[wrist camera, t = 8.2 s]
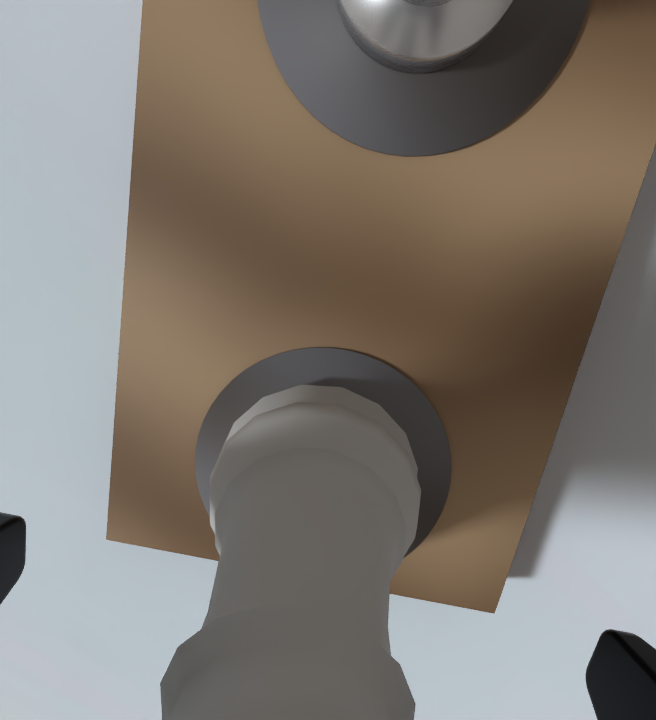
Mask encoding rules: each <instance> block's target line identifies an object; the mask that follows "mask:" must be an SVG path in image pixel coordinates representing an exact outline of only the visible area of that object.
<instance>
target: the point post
mask: <svg viewBox="0 0 656 720" xmlns="http://www.w3.org/2000/svg"><path fill="white" fill-rule="evenodd" d="M512 1H513V0H336V4H337V9H338V12H339V14H340V17H341V20H342V22H343V24H344V26H345V28H346V30H347V32H348V34H349V35H350V37H351V38H352V40H353V41H354V42H355V44H356V45H357V46H358V47H359V48H360V49H361V50H362V51H363V52H364V53H365V54H366V55H367V56H368V57H370V58H371V59H372V60H374V61H375V62H377V63H378V64H380V65H382V66H384V67H386V68H388V69H391V70H394V71H397V72H401V73H407V74H428V73H433V72H438V71H441V70H444V69H447V68H449V67H451V66H453V65H455V64H458V63H459V62H461V61H462V60H464V59H465V58H467V57H468V56H470V55H471V54H472V53H473V52H474V51H476V50H477V49H478V48H479V47H480V46H481V45H482V44H483V43H484V42H485V40H486V39H487V38H488V37H489V35H490V34H491V33H492V31H493V30H494V29H495V27H496V26H497V24H498V23H499V21H500V20H501V18H502V17H503V15H504V14H505V12H506V10H507V9H508V7H509V6H510V4H511V3H512Z"/></svg>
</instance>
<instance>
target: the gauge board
mask: <svg viewBox="0 0 656 720" xmlns="http://www.w3.org/2000/svg"><path fill="white" fill-rule="evenodd" d="M655 144H656V0H513V1H512V3H511V4H510V6H509V7H508V9H507V10H506V12H505V14H504V15H503V17H502V18H501V20H500V21H499V23H498V24H497V26H496V27H495V29H494V30H493V31H492V33H491V34H490V35H489V37H488V38H487V39H486V40H485V42H484V43H483V44H482V45H481V46H480V47H479V48H478V49H477V50H476V51H474V52H473V53H472V54H471V55H470V56H468V57H467V58H465V59H464V60H462V61H461V62H459V63H458V64H455V65H453V66H451V67H449V68H447V69H444V70H441V71H438V72H433V73H428V74H407V73H401V72H397V71H394V70H391V69H388V68H386V67H384V66H382V65H380V64H378V63H377V62H375V61H374V60H372V59H371V58H370V57H368V56H367V55H366V54H365V53H364V52H363V51H362V50H361V49H360V48H359V47H358V46H357V45H356V44H355V42H354V41H353V40H352V38H351V37H350V35H349V34H348V32H347V30H346V28H345V26H344V24H343V22H342V20H341V17H340V14H339V12H338V9H337V4H336V0H143V6H142V20H141V35H140V50H139V65H138V79H137V94H136V109H135V124H134V138H133V153H132V168H131V182H130V197H129V212H128V227H127V241H126V256H125V271H124V286H123V300H122V315H121V330H120V345H119V359H118V374H117V389H116V404H115V418H114V433H113V448H112V463H111V477H110V492H109V507H108V522H107V536H106V540H111V541H117V542H122V543H127V544H132V545H138V546H143V547H148V548H153V549H159V550H164V551H169V552H174V553H180V554H185V555H190V556H195V557H201V558H206V559H211V560H216V561H219V558H220V555H219V553H218V551H217V549H216V547H215V534H214V531H213V529H212V527H211V525H210V494H209V486H210V475H211V473H212V471H213V469H214V466H215V464H216V462H217V460H218V458H219V455H220V453H221V450H222V448H223V446H224V444H225V441H226V439H227V437H228V435H229V433H230V430H231V428H232V426H233V424H234V422H235V421H236V420H237V419H239V418H240V417H241V416H242V415H243V414H244V413H245V412H247V411H248V410H249V409H250V408H251V407H252V406H253V405H255V404H256V403H257V402H258V401H259V400H260V399H261V398H262V397H265V396H268V395H271V394H274V393H277V392H280V391H283V390H286V389H289V388H292V387H295V386H298V385H314V386H330V387H343V388H345V389H347V390H349V391H351V392H354V393H356V394H358V395H360V396H362V397H364V398H366V399H369V400H371V401H373V402H375V403H377V404H379V405H380V406H381V407H382V408H383V409H384V410H385V411H386V412H387V413H388V414H389V416H390V417H391V418H392V419H393V420H394V421H395V422H396V423H397V424H398V425H399V426H400V428H401V429H402V430H403V431H404V432H405V433H406V435H407V438H408V441H409V444H410V447H411V450H412V453H413V456H414V459H415V462H416V465H417V468H418V472H417V479H418V482H419V485H420V488H421V497H420V506H419V515H418V524H417V530H416V535H415V539H414V541H413V542H412V544H411V546H410V547H409V549H408V551H407V552H406V554H405V555H404V558H403V561H402V563H401V564H400V566H399V568H398V569H397V571H396V573H395V574H394V576H393V578H392V579H391V581H390V592H389V593H390V594H395V595H400V596H405V597H411V598H416V599H421V600H426V601H432V602H437V603H442V604H447V605H453V606H458V607H463V608H468V609H474V610H479V611H484V612H489V613H495V610H496V608H497V605H498V602H499V599H500V596H501V593H502V590H503V587H504V584H505V581H506V578H507V575H508V573H509V570H510V567H511V564H512V561H513V558H514V555H515V552H516V549H517V546H518V543H519V541H520V538H521V535H522V532H523V529H524V526H525V523H526V520H527V517H528V514H529V511H530V508H531V506H532V503H533V500H534V497H535V494H536V491H537V488H538V485H539V482H540V479H541V476H542V474H543V471H544V468H545V465H546V462H547V459H548V456H549V453H550V450H551V447H552V444H553V441H554V439H555V436H556V433H557V430H558V427H559V424H560V421H561V418H562V415H563V412H564V409H565V406H566V404H567V401H568V398H569V395H570V392H571V389H572V386H573V383H574V380H575V377H576V374H577V372H578V369H579V366H580V363H581V360H582V357H583V354H584V351H585V348H586V345H587V342H588V339H589V337H590V334H591V331H592V328H593V325H594V322H595V319H596V316H597V313H598V310H599V307H600V305H601V302H602V299H603V296H604V293H605V290H606V287H607V284H608V281H609V278H610V275H611V272H612V270H613V267H614V264H615V261H616V258H617V255H618V252H619V249H620V246H621V243H622V240H623V237H624V235H625V232H626V229H627V226H628V223H629V220H630V217H631V214H632V211H633V208H634V205H635V203H636V200H637V197H638V194H639V191H640V188H641V185H642V182H643V179H644V176H645V173H646V170H647V168H648V165H649V162H650V159H651V156H652V153H653V150H654V147H655Z"/></svg>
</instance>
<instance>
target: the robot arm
mask: <svg viewBox="0 0 656 720" xmlns="http://www.w3.org/2000/svg"><path fill="white" fill-rule="evenodd" d="M25 553H26V523H25V521H24V519H23V518H22V517H20V516H17V515H11V514H6V513H1V512H0V604H1V603H2V602H3V600H4V599H5V597H6V596H7V595H8V593H9V592H10V591H11V589H12V588H13V586H14V585H15V584H16V582H17V581H18V579H19V577H20V576H21V574H22V571H23V569H24V565H25ZM586 684H587V689H588V692H589V695H590V698H591V701H592V704H593V707H594V710H595V713H596V716H597V719H598V720H656V649H655V648H653V647H652V646H651V645H649V644H648V643H647V642H645V641H644V640H643V639H641V638H640V637H639V636H637V635H635V634H632V633H628V632H623V631H617V630H612V629H609V630H606V631H604V632H603V633H602V634H601V636H600V638H599V640H598V643H597V645H596V648H595V650H594V652H593V655H592V657H591V659H590V662H589V664H588V666H587V670H586Z"/></svg>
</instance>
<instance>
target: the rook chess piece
mask: <svg viewBox="0 0 656 720" xmlns="http://www.w3.org/2000/svg"><path fill="white" fill-rule="evenodd" d="M417 472H418V468H417V465H416V462H415V459H414V456H413V453H412V450H411V447H410V444H409V441H408V438H407V435H406V433H405V432H404V431H403V430H402V429H401V428H400V426H399V425H398V424H397V423H396V422H395V421H394V420H393V419H392V418H391V417H390V416H389V414H388V413H387V412H386V411H385V410H384V409H383V408H382V407H381V406H380V405H379V404H377V403H375V402H373V401H371V400H369V399H366V398H364V397H362V396H360V395H358V394H356V393H354V392H351V391H349V390H347V389H345V388H343V387H330V386H314V385H298V386H295V387H292V388H289V389H286V390H283V391H280V392H277V393H274V394H271V395H268V396H265V397H262V398H261V399H260V400H259V401H258V402H257V403H256V404H255V405H253V406H252V407H251V408H250V409H249V410H248V411H247V412H245V413H244V414H243V415H242V416H241V417H240V418H239V419H237V420H236V421H235V422H234V424H233V426H232V428H231V430H230V433H229V435H228V437H227V439H226V441H225V444H224V446H223V448H222V450H221V453H220V455H219V458H218V460H217V462H216V464H215V466H214V469H213V471H212V473H211V475H210V486H209V494H210V525H211V527H212V529H213V531H214V534H215V547H216V549H217V551H218V553H219V555H220V558H219V563H218V567H217V572H216V577H215V581H214V586H213V591H212V595H211V600H210V604H209V609H208V613H207V616H206V618H205V621H204V624H203V626H202V629H201V630H200V631H198V632H197V633H196V634H194V635H193V636H192V637H190V638H189V639H188V640H187V641H185V642H184V643H183V644H181V645H180V646H179V647H178V648H177V650H176V652H175V654H174V656H173V658H172V660H171V662H170V664H169V667H168V669H167V671H166V673H165V675H164V677H163V679H162V681H161V683H160V686H161V704H162V720H414V712H415V702H414V699H413V697H412V694H411V691H410V689H409V686H408V684H407V681H406V679H405V676H404V674H403V671H402V668H401V666H400V664H399V663H398V662H397V661H396V660H395V659H394V658H393V657H392V656H391V652H390V643H389V633H388V611H389V592H390V581H391V579H392V578H393V576H394V574H395V573H396V571H397V569H398V568H399V566H400V564H401V563H402V561H403V558H404V555H405V554H406V552H407V551H408V549H409V547H410V546H411V544H412V542H413V541H414V539H415V535H416V530H417V524H418V515H419V506H420V497H421V488H420V485H419V482H418V479H417Z"/></svg>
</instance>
